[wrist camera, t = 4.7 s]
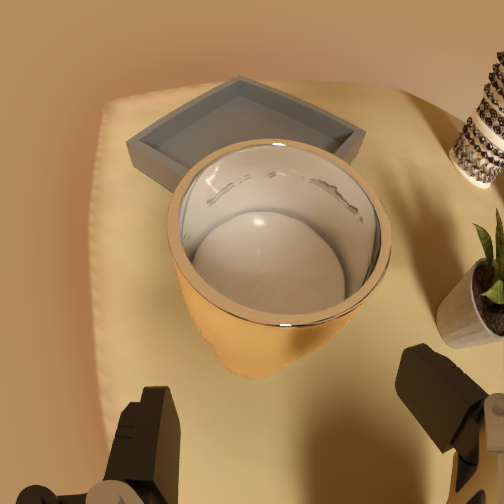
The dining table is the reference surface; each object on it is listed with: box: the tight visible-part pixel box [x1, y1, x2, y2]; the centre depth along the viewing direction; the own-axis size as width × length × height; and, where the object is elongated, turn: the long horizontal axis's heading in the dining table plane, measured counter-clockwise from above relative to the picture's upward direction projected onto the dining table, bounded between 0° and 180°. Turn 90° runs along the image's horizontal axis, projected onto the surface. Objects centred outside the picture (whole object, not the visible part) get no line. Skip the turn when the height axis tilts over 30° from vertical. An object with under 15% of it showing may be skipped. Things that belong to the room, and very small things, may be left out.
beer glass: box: [167, 139, 392, 378], centre depth 15 cm, size 7×7×15 cm
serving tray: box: [126, 76, 366, 193], centre depth 29 cm, size 18×18×4 cm
